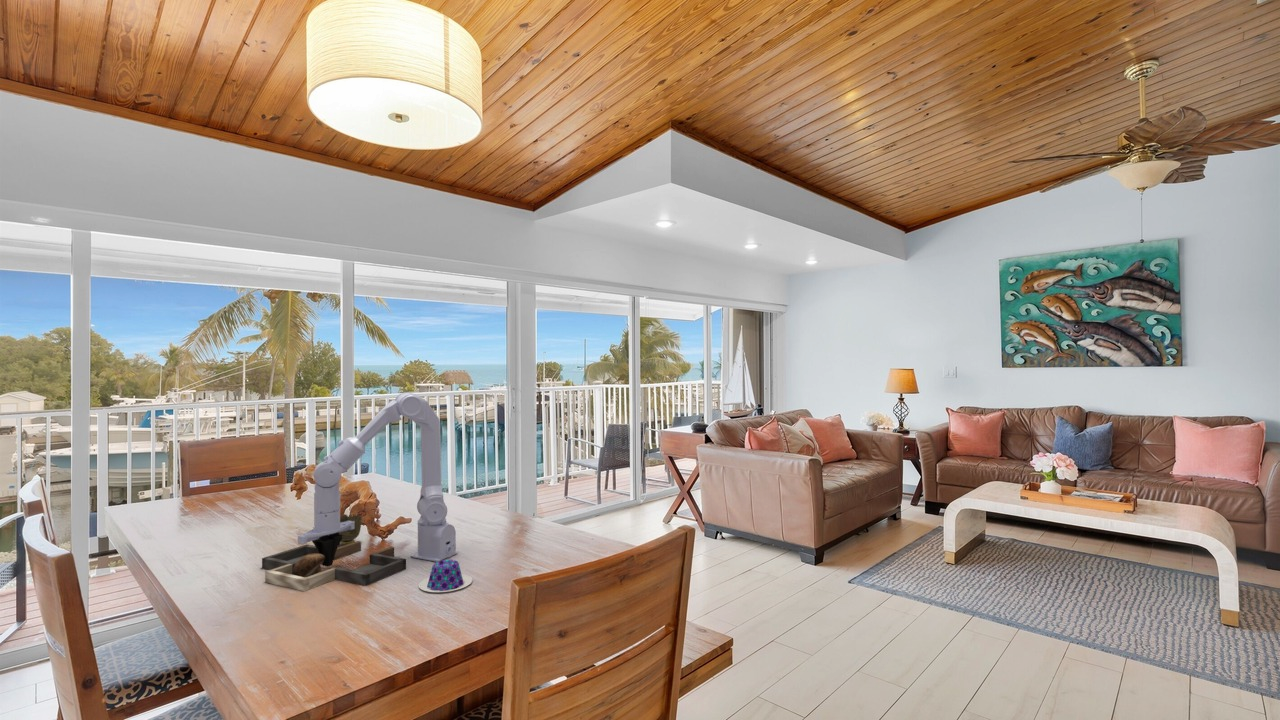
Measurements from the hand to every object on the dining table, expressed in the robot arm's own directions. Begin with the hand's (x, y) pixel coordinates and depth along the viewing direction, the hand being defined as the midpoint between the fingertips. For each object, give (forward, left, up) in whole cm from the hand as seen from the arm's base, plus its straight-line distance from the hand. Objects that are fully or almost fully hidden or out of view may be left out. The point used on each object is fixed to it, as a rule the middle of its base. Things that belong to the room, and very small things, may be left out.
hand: (327, 565), depth 151 cm
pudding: (-33, -5, -2) cm, 33 cm away
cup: (+13, -17, -2) cm, 21 cm away
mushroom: (0, +5, -2) cm, 5 cm away
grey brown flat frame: (0, -2, -1) cm, 2 cm away
